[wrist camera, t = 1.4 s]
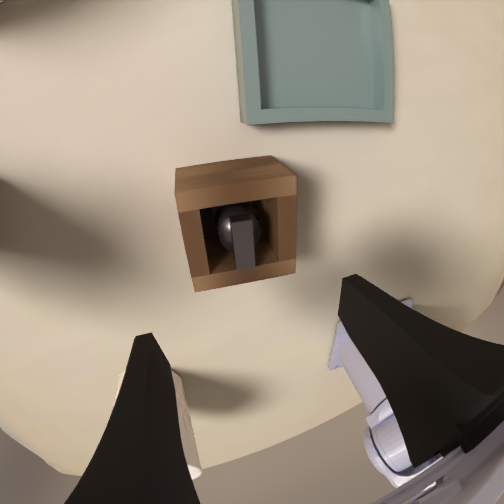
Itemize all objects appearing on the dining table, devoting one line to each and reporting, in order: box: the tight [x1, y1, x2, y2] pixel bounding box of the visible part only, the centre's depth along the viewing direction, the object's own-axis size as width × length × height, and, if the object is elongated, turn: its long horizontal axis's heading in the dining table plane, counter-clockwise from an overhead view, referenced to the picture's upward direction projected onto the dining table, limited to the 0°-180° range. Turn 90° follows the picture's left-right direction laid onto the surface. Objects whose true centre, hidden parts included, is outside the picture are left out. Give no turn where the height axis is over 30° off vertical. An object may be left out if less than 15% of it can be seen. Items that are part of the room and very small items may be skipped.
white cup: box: [113, 369, 202, 480], centre depth 22 cm, size 8×8×10 cm
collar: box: [175, 156, 296, 292], centre depth 17 cm, size 6×6×4 cm
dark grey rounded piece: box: [211, 202, 261, 271], centre depth 17 cm, size 2×3×5 cm
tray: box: [232, 0, 394, 125], centre depth 13 cm, size 10×10×2 cm
